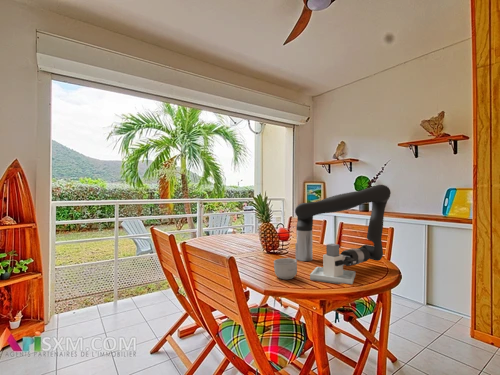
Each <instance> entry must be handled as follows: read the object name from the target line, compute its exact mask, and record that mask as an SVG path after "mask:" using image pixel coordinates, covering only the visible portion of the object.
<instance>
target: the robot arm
mask: <svg viewBox="0 0 500 375" xmlns="http://www.w3.org/2000/svg"><path fill="white" fill-rule="evenodd" d="M390 197H391V189H390V188H389V186H388V185H385V184H377V185H374V186H371V187H367V188H365V189H361V190H357V191H350V192H345V193H340V194H336V195H331V196H330V197H326V198H323V199H320V200H318V201H312V202H301V203H299V204H298V205H297V206H296V207H295V212H294V213H295V215H296V216H297V219H296V220H297V221H296V222H297V223H296V225H295V226H296V242H295V247H294V248H295V260H297V261H301V262H310V261H311V262H312V261H313V226H314V225H313V224H314V217H315V216H317V215H321V214H322V215H323V214H332V213H338V212H342V211H348V210H350V209H351V210H352V209H353V208H356V207H358V206H361V205H364V204H368V203H371V214H370V217H369V222H368V227H367V234H366V239H367V240H369V241H370V242H372V243H373V245H371V244H364V245H361V246H360V247H357V248H351V249H345V250H343V251H341V253H339V255H343V259H342V260H338V261H335V266H340V265H342V266H343V267H344V266H345V267H353V266H355V265H359V264H360V263H361V264H362V263H366V262H367V261H369V260H372V261H376V262H377V261H381V260H382V259H383V257H384V248H383V243H382V242H383V241H382V238H383V230H384V218H385V216H384V215H385V209H386V207H387V204H388V200H389V199H390Z"/></svg>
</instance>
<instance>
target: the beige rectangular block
mask: <svg viewBox="0 0 500 375" xmlns="http://www.w3.org/2000/svg"><path fill="white" fill-rule="evenodd" d="M342 259H343V255H339V256H336V257H332V256H327V253H325V254H323V255H322V265H323V266H322V267H323V274H324V275H327V276H331V277H338V276H342V275H343V270H344V266H342V265H340V266H335V261H338V260H342Z"/></svg>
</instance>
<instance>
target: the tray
mask: <svg viewBox="0 0 500 375" xmlns="http://www.w3.org/2000/svg"><path fill="white" fill-rule="evenodd" d="M355 278H356V271H355V270H348V269H343V275H342V276H338V277H331V276H327V275H324V274H323V266H322V267H321V266H316V267H315V268H314V269H313V270H312V271H311V273H310V274H309V279H310V281H315V282H323V283H328V284H329V283H331V284H336V285H344V286H345V284H347V285H353V283H354V280H355Z"/></svg>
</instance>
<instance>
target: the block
mask: <svg viewBox="0 0 500 375" xmlns="http://www.w3.org/2000/svg"><path fill="white" fill-rule="evenodd" d="M325 247H326V248H325V249H326V254H327V256H332V257H336V256H339V254H340V244H338V243H337V244H336V243H327V244H326V246H325Z"/></svg>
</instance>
